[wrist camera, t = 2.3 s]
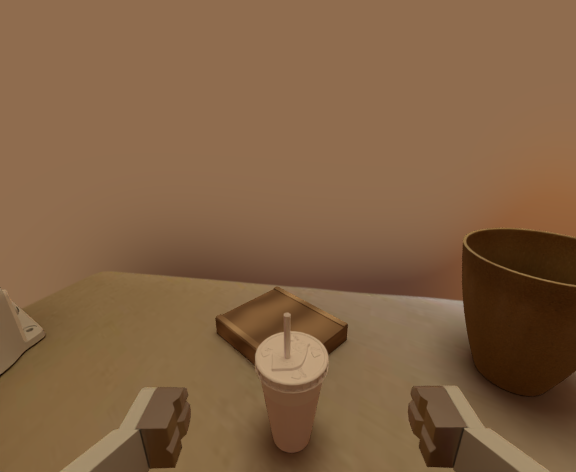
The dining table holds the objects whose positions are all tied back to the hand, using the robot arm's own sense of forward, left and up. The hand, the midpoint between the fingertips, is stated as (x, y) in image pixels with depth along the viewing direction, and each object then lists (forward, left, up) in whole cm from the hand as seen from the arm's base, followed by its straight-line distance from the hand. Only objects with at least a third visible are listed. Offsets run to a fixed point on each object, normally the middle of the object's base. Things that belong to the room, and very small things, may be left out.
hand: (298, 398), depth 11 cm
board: (-20, +18, -19) cm, 33 cm away
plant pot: (+4, +33, -19) cm, 38 cm away
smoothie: (-9, +9, -19) cm, 23 cm away
